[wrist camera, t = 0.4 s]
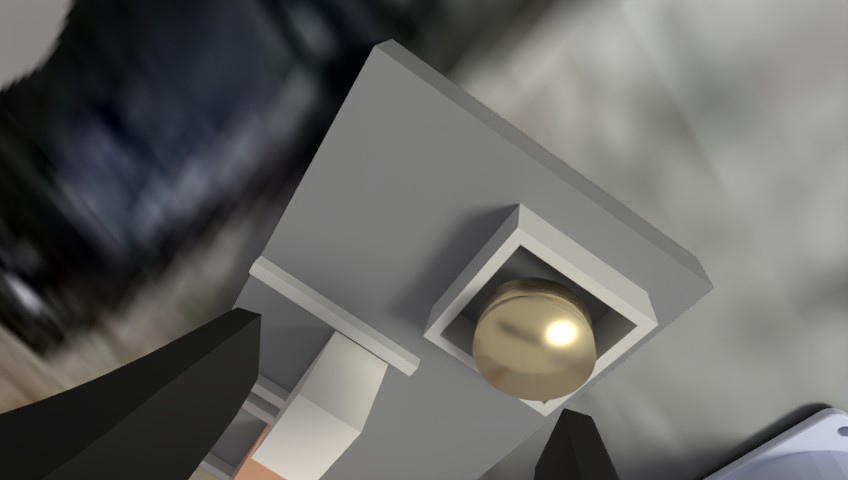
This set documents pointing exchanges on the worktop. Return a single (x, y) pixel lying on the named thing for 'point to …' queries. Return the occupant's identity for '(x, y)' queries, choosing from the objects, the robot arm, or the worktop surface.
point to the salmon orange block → (254, 465)
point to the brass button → (534, 339)
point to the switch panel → (439, 273)
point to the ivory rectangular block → (322, 411)
